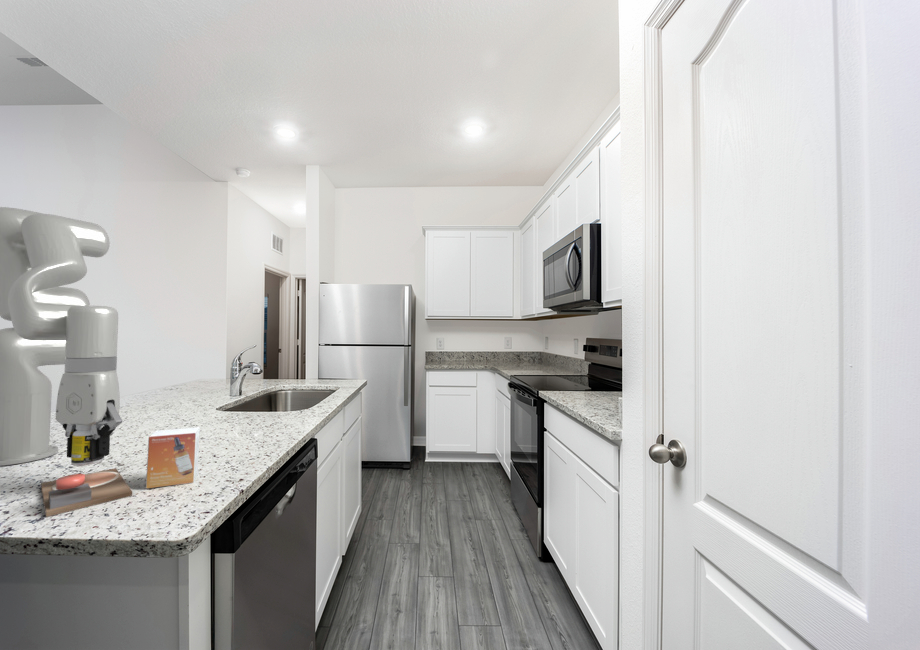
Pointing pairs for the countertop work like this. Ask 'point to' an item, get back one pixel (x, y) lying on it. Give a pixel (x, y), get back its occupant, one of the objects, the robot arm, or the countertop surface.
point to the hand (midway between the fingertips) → (88, 455)
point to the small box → (172, 457)
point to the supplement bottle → (83, 446)
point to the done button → (70, 481)
